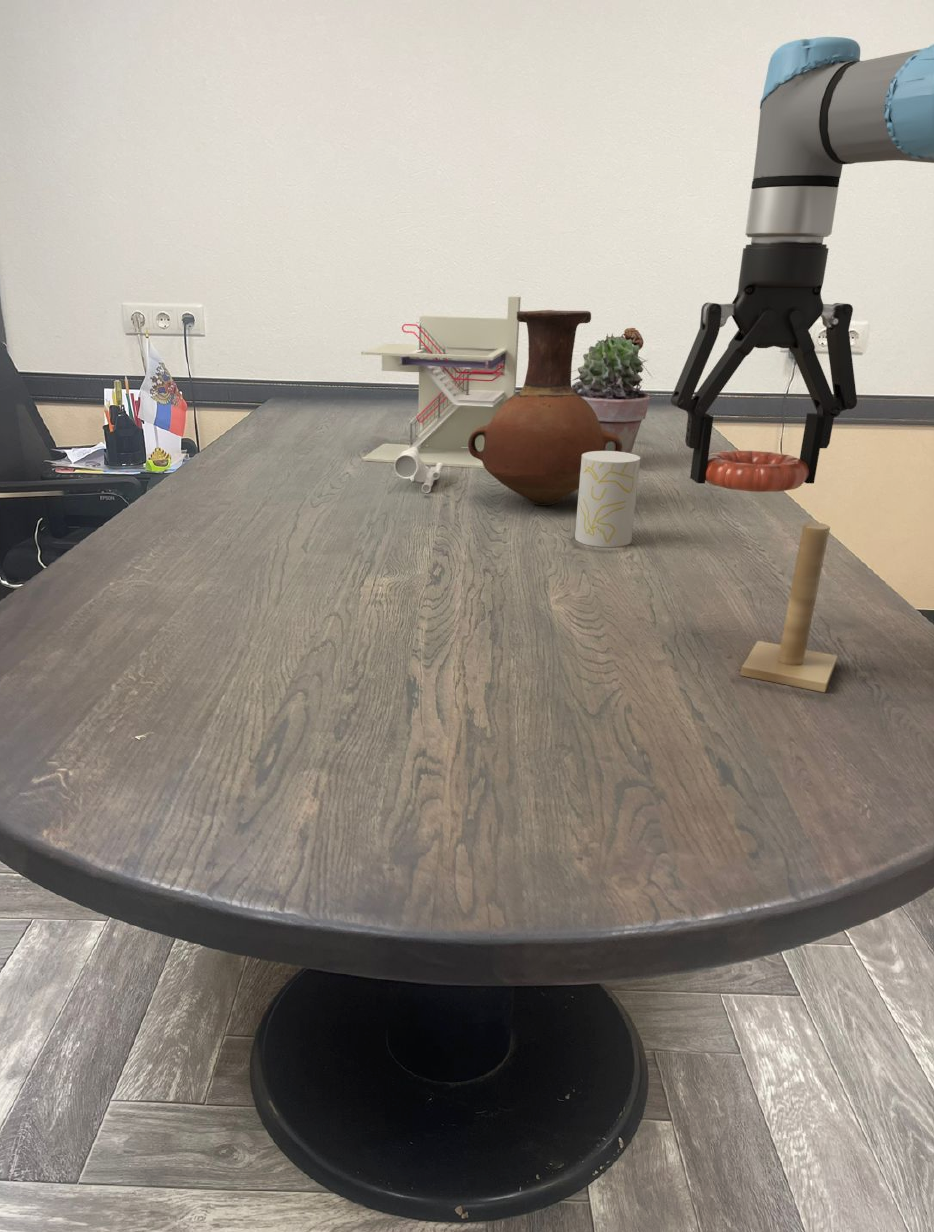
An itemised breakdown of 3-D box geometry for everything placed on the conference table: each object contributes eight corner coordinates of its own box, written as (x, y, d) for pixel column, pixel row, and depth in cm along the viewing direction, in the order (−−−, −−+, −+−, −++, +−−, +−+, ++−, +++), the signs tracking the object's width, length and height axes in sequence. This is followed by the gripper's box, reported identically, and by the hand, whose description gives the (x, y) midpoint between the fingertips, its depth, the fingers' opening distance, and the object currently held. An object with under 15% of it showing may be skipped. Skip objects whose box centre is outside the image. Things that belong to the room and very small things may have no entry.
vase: (609, 492, 166) (627, 308, 153) (621, 521, 148) (643, 315, 135) (468, 487, 168) (474, 305, 155) (463, 516, 150) (469, 312, 137)
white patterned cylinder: (570, 543, 137) (577, 459, 131) (579, 529, 144) (586, 449, 138) (627, 549, 134) (636, 464, 129) (634, 534, 141) (643, 453, 136)
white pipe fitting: (425, 484, 177) (446, 465, 175) (417, 503, 164) (440, 482, 162) (395, 452, 175) (416, 432, 173) (385, 469, 162) (408, 447, 160)
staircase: (359, 462, 186) (357, 297, 173) (384, 445, 202) (383, 293, 189) (497, 471, 180) (506, 301, 167) (512, 453, 196) (520, 296, 183)
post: (835, 664, 98) (866, 521, 91) (825, 692, 91) (857, 541, 85) (756, 649, 101) (780, 510, 95) (740, 675, 95) (765, 529, 89)
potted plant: (542, 469, 182) (551, 331, 172) (568, 451, 199) (578, 324, 188) (636, 478, 176) (652, 335, 166) (655, 459, 192) (670, 328, 182)
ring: (812, 479, 99) (817, 454, 98) (796, 498, 90) (800, 471, 89) (711, 469, 103) (715, 445, 102) (687, 487, 95) (690, 460, 94)
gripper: (889, 242, 91) (846, 473, 101) (653, 241, 91) (631, 473, 100) (929, 241, 85) (879, 488, 94) (674, 240, 84) (648, 488, 93)
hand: (751, 480), depth 97 cm, fingers closed on ring, 10 cm apart
